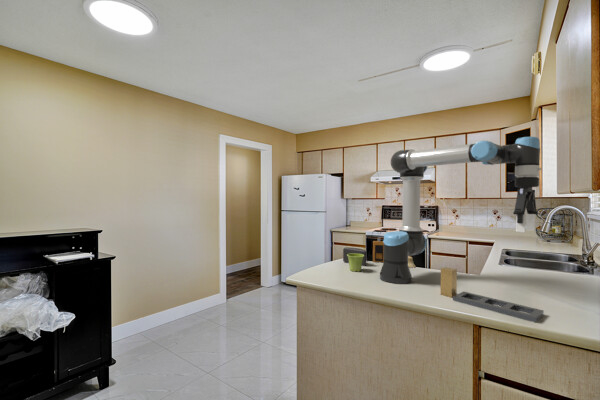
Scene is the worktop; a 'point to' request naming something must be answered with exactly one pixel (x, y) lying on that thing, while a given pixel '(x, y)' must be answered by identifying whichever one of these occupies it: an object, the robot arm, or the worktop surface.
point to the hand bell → (410, 262)
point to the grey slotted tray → (505, 309)
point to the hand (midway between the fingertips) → (525, 231)
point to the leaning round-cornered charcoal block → (356, 251)
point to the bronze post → (448, 282)
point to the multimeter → (378, 250)
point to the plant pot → (355, 261)
